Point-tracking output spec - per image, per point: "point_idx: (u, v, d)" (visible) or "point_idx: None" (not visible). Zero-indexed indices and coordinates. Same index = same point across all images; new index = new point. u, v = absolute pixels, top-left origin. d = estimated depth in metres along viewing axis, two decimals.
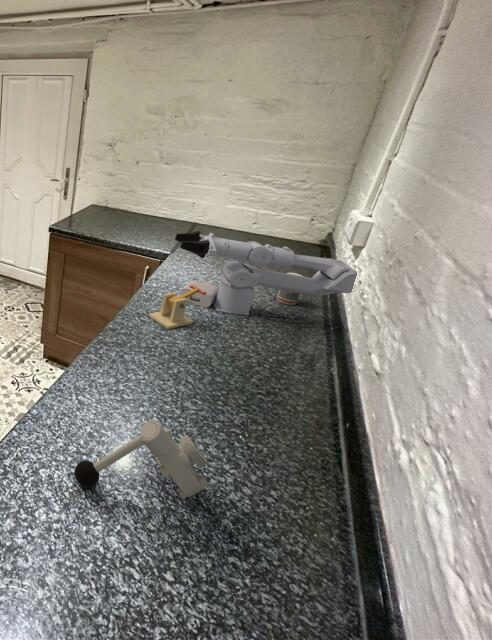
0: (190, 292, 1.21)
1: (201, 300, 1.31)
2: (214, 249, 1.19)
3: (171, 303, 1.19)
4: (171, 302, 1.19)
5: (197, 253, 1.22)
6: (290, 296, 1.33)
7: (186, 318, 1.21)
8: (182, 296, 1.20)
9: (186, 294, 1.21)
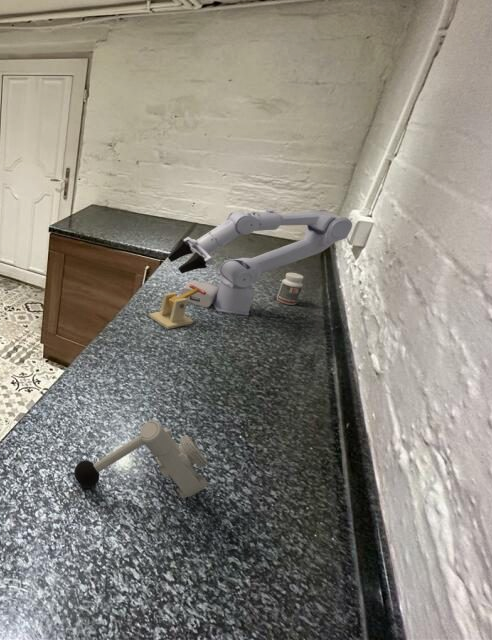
0: (190, 292, 1.21)
1: (201, 300, 1.31)
2: (208, 257, 1.18)
3: (171, 303, 1.19)
4: (171, 302, 1.19)
5: (198, 267, 1.21)
6: (290, 296, 1.33)
7: (186, 318, 1.21)
8: (182, 296, 1.20)
9: (186, 294, 1.21)
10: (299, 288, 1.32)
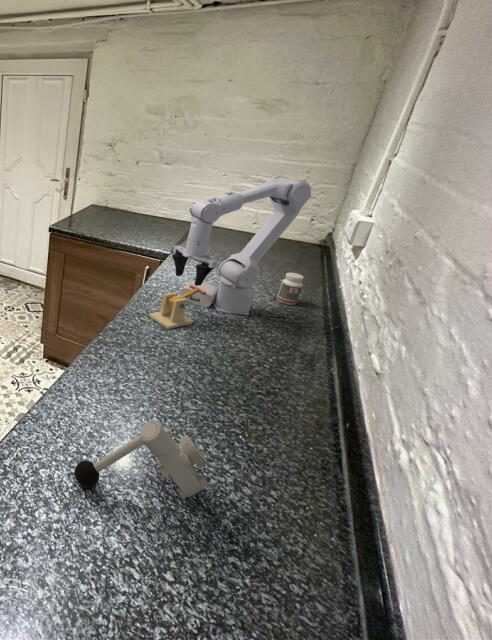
0: (190, 292, 1.21)
1: (201, 300, 1.31)
2: (210, 263, 1.16)
3: (171, 303, 1.19)
4: (171, 302, 1.19)
5: (209, 271, 1.20)
6: (290, 296, 1.33)
7: (186, 318, 1.21)
8: (182, 296, 1.20)
9: (186, 294, 1.21)
10: (299, 288, 1.32)
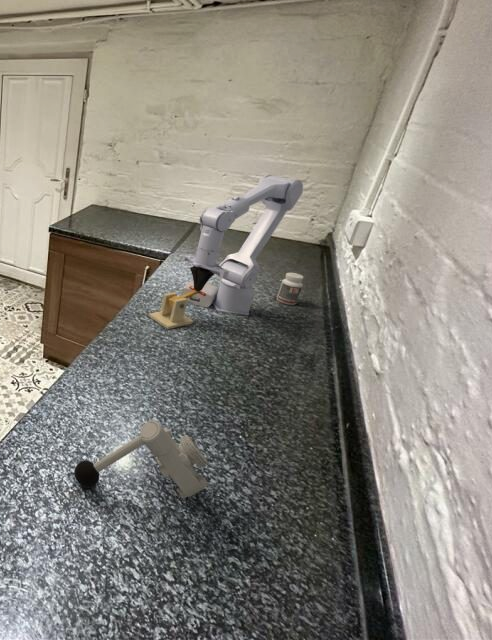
0: (190, 293, 1.21)
1: (201, 300, 1.31)
2: (221, 272, 1.13)
3: (171, 303, 1.19)
4: (171, 302, 1.19)
5: (210, 277, 1.19)
6: (290, 296, 1.33)
7: (186, 318, 1.21)
8: (182, 296, 1.21)
9: (186, 295, 1.21)
10: (299, 288, 1.32)
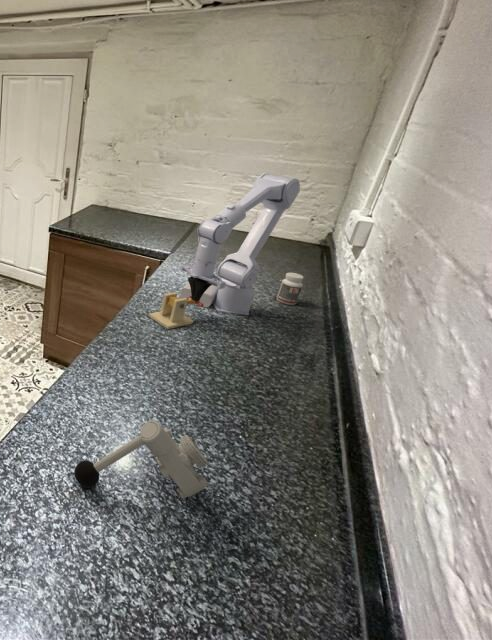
0: (189, 300, 1.22)
1: (201, 300, 1.31)
2: (218, 284, 1.14)
3: (172, 301, 1.19)
4: (172, 300, 1.19)
5: (207, 287, 1.21)
6: (290, 296, 1.33)
7: (186, 318, 1.21)
8: None
9: None
10: (299, 288, 1.32)
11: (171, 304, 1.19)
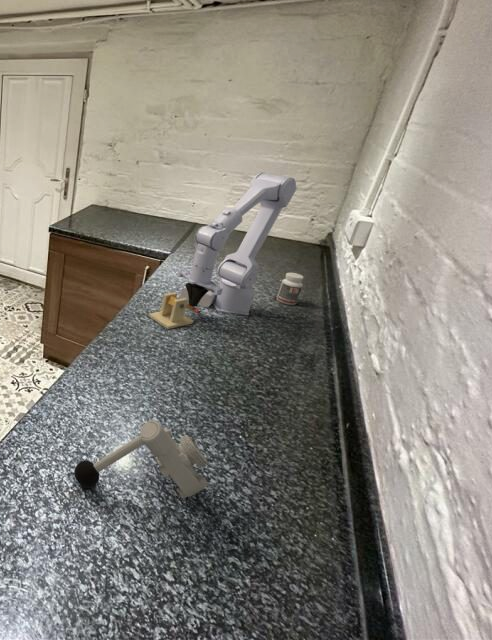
0: (187, 304, 1.23)
1: (201, 300, 1.31)
2: (215, 290, 1.15)
3: (172, 300, 1.19)
4: (173, 299, 1.19)
5: (205, 293, 1.21)
6: (290, 296, 1.33)
7: (186, 318, 1.21)
8: None
9: None
10: (299, 288, 1.32)
11: (171, 303, 1.19)
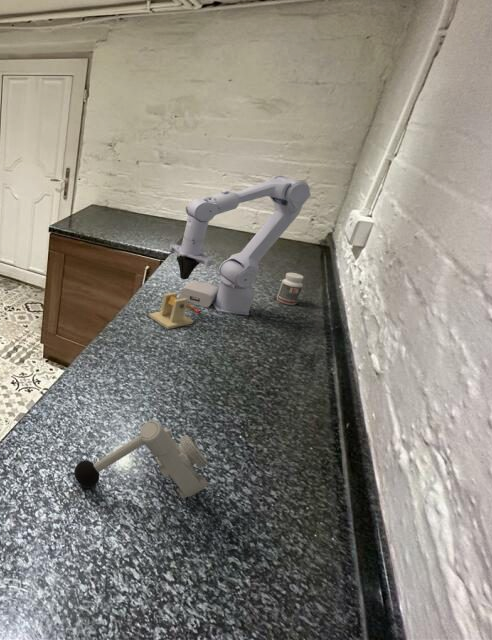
0: (187, 304, 1.23)
1: (201, 300, 1.31)
2: (205, 261, 1.18)
3: (172, 300, 1.19)
4: (173, 299, 1.19)
5: (195, 266, 1.24)
6: (290, 296, 1.33)
7: (186, 318, 1.21)
8: None
9: None
10: (299, 288, 1.32)
11: (171, 303, 1.19)
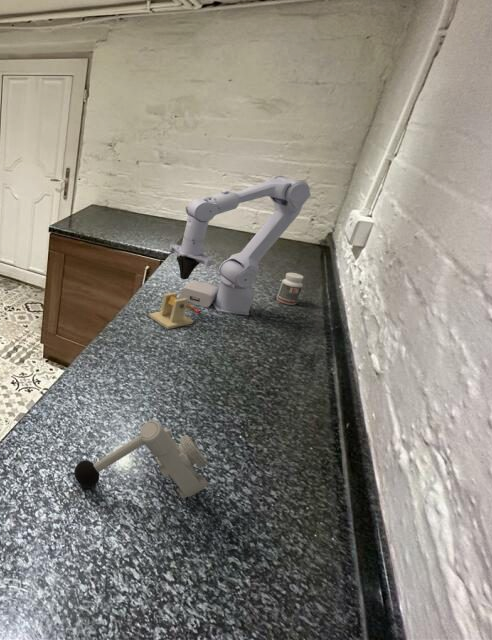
0: (187, 304, 1.23)
1: (201, 300, 1.31)
2: (205, 261, 1.18)
3: (172, 300, 1.19)
4: (173, 299, 1.19)
5: (195, 266, 1.24)
6: (290, 296, 1.33)
7: (186, 318, 1.21)
8: None
9: None
10: (299, 288, 1.32)
11: (171, 303, 1.19)
